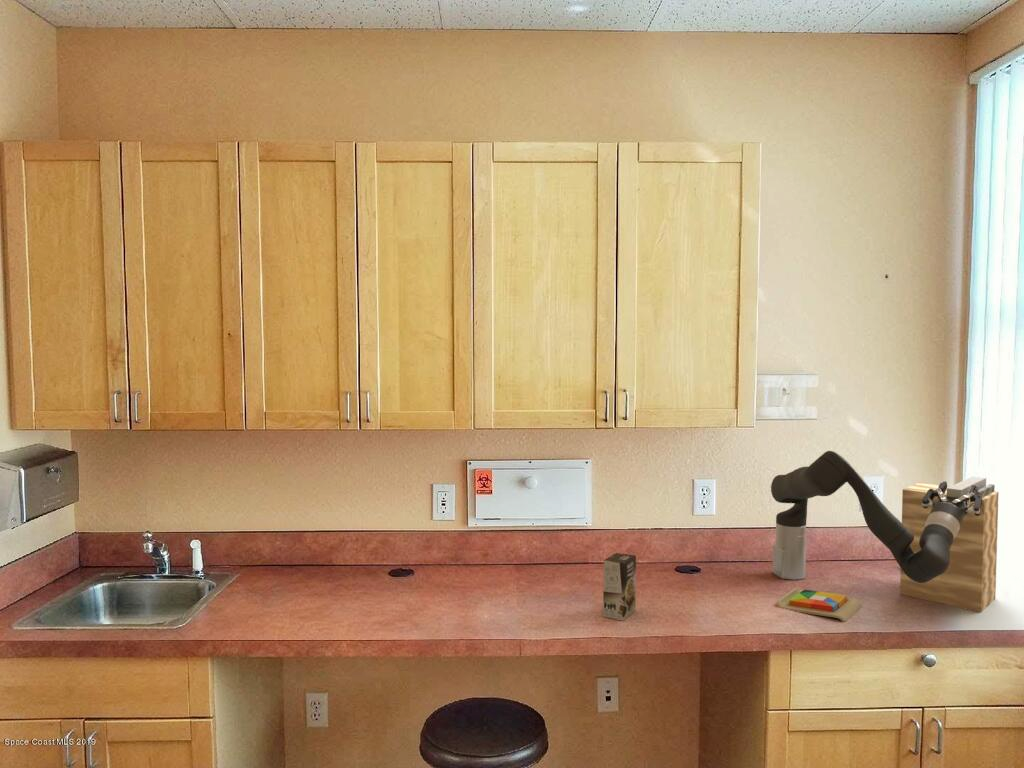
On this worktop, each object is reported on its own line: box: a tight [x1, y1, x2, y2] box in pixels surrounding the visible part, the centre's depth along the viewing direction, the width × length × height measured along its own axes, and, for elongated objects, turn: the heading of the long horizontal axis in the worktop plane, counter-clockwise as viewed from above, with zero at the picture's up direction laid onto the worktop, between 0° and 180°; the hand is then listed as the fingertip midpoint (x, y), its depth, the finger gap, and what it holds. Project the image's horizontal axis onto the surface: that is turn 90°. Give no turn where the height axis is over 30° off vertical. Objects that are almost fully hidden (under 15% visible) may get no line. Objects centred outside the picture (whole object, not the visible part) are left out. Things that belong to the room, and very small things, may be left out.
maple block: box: [899, 482, 999, 613], centre depth 212 cm, size 16×21×34 cm
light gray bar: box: [947, 476, 987, 498], centre depth 203 cm, size 26×4×4 cm, turn 134°
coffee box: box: [602, 552, 637, 622], centre depth 198 cm, size 9×6×16 cm
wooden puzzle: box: [776, 587, 863, 623], centre depth 205 cm, size 18×19×4 cm
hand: (959, 485), depth 198 cm, fingers open, 6 cm apart
